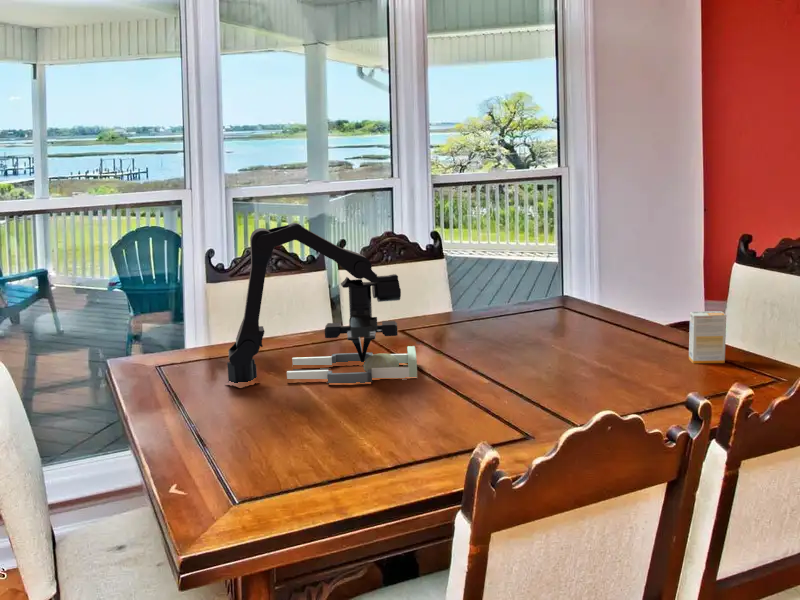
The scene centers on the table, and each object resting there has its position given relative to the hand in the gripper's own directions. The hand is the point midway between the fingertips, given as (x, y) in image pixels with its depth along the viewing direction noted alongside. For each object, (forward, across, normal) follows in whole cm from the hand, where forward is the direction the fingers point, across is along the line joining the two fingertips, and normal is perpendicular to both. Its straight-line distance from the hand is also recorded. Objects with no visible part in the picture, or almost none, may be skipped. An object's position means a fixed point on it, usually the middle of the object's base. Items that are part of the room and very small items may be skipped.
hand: (362, 361), depth 217 cm
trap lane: (+3, -4, 0) cm, 5 cm away
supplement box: (+3, +90, -1) cm, 90 cm away
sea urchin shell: (+3, +5, 0) cm, 6 cm away
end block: (+3, +13, 0) cm, 13 cm away
